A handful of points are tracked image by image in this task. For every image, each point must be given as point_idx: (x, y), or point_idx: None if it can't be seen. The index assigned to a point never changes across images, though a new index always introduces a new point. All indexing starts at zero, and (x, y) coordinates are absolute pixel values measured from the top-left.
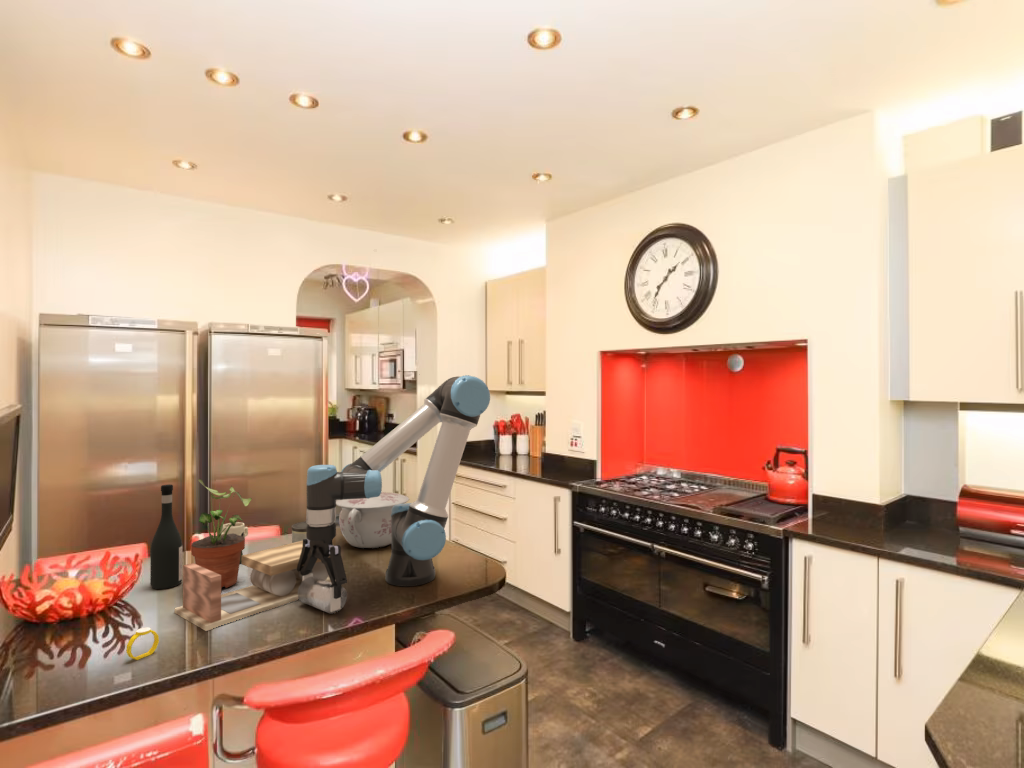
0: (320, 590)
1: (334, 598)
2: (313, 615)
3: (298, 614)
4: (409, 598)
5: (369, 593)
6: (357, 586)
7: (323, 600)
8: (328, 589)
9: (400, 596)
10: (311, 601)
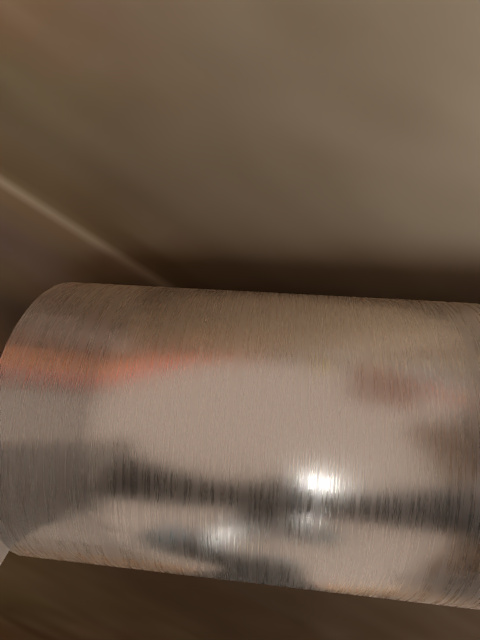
0: (137, 410)
1: None
2: (205, 221)
3: (346, 150)
4: (18, 613)
5: (233, 594)
6: (386, 630)
7: (36, 317)
8: (8, 449)
9: (71, 615)
10: (280, 297)
